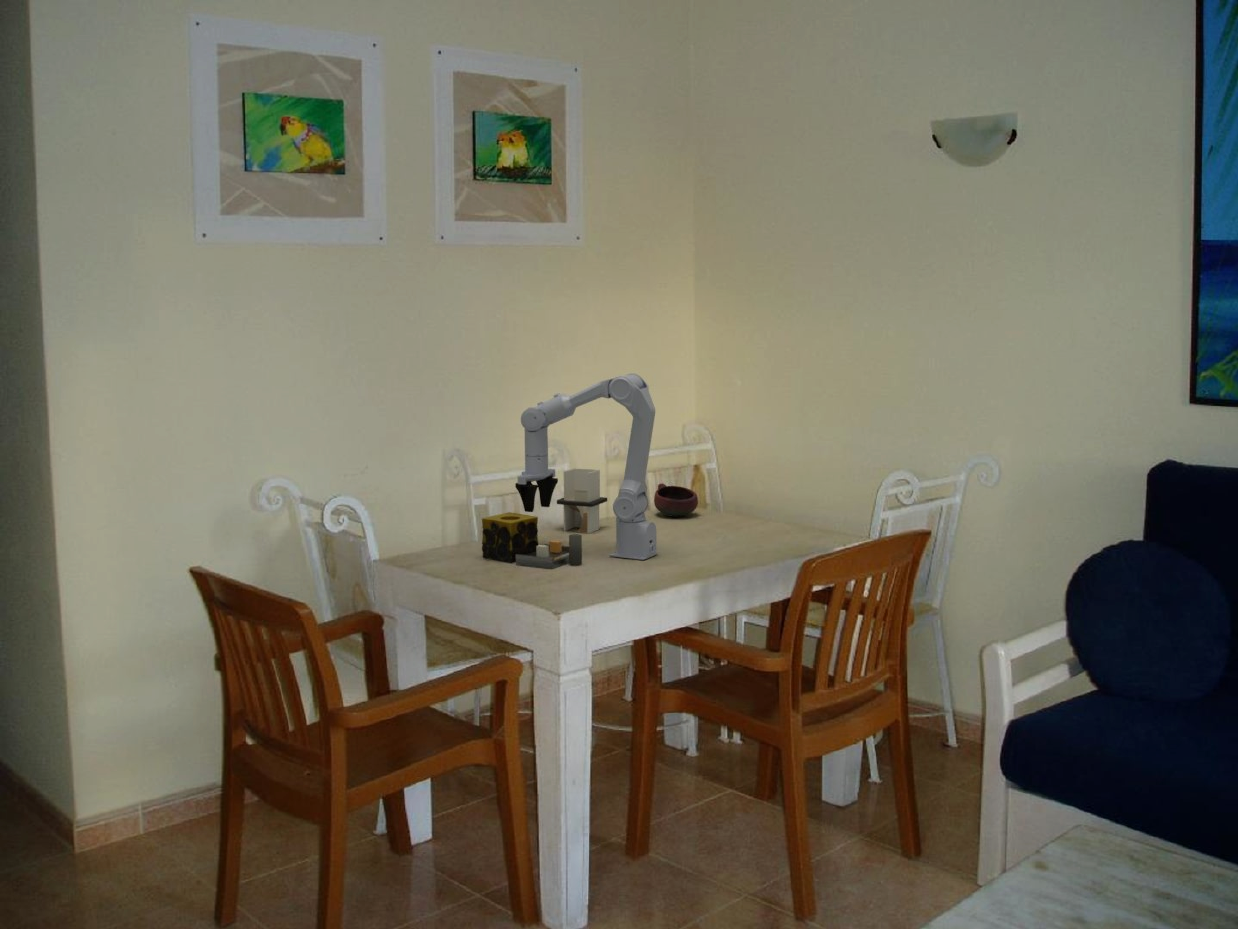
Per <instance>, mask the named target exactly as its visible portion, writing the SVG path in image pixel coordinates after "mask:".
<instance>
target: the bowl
mask: <svg viewBox="0 0 1238 929" xmlns="http://www.w3.org/2000/svg"><path fill="white" fill-rule="evenodd" d="M698 498H699V497H698V495H697V493H696V492H695V491H693V490H692V489H690V488H687V487H683V486H677V485H666V484H664V483H659V484H658V485H657V489H656V491H655V493H654V499H653V500H654V501H653V502H654V506H655V508H656V509H657V511H659V513H661V514H663V515H667V516H669V517H673V516H680V517H685V516H688V515H690V514H693V512H694V511H696V509H697V507H698V504H699V499H698ZM684 515H685V516H684Z"/></svg>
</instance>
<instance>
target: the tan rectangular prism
mask: <svg viewBox="0 0 1238 929" xmlns="http://www.w3.org/2000/svg"><path fill="white" fill-rule="evenodd" d="M549 544H550V552H556V553H559V552H562V546H563V545H562V541H561V540H550V541H549Z"/></svg>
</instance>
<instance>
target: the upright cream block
mask: <svg viewBox="0 0 1238 929" xmlns="http://www.w3.org/2000/svg"><path fill="white" fill-rule="evenodd" d="M536 553H537V556H540V557H548V556H549V546H546V545H545V544H538V546H536Z"/></svg>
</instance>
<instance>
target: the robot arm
mask: <svg viewBox="0 0 1238 929" xmlns="http://www.w3.org/2000/svg"><path fill="white" fill-rule="evenodd" d="M601 398H605V399H613V400H614V401H615V402H617V403H618V404H620V405H621V406H623V407H625V409H626V410H627V411H628V413H629V414H630V415H632V421H631V422H632V423H631V429H630V436H629V441H628V442H629V443H628V448H627V455H626V463H625V470H624V475H623V480H622V483H621V484H620V487H619V489H618V495H617V497H616V498H615V499H614V500H613V504H612V511H613V513H614V515H615V518H616V520H615V522H616V523H615V534H616V536H615V538H616V541H615V544H616V545H615V550H616V551H614V552H612V553H610V554H609V557H613V558H614V557H615V558H623V559H625V558H626V559H632V560H633V559H634V560H641V561H645V560H647V559H650V558H651V557H654V556H657V555H658V554H659V552H658V551H657V526H656V524H655V523H654V521H650V520H647V519H646V518H647V517H646V511H647V510H648V508H649V504H650V503H649V498H648V493H647V491H648V486H647V484H646V475H647V469H648V464H649V463H648V462H649V458H650V456H649V455H650V450H651V444H652V437H653V431H654V424H655V416H656V407H655V405H654V402H653V399H652V397H651V394H650V391H649V384H648V383H647V382H646V381H645V380H644V378H643V377H641V376H640V375H639V374H637V373H629V374H626V375H618V376H615V377H613V378H608V379H603V380H602V381H599V382H597V383H595V384H592V385H591V386H588V387H586V388H584V389H582V390H580V391H578V392H576V393H574V394H572V395H568V394H566V393H555V394H553V397H552V398H551V399H548V400H546V401H544V402H543V401H539V402H538V403H537V406H534V407H528V408H526V409H525V410H524V411H523V412H522V413H521V416H520V423H521V425H522V427H523V428H524V471H522V472H521V474H520V475H518V476H517V482H516V483H515V484H514V485H515V486H514V487H515V488H516V490H517V492H518V494H519V496H520V498H521V501H522V505H523V510H524V512H527V513H533V512H534V510H535V501H536V499H535V498H536V493H537V491H539V492H538V493H539V502H540V507H541V508H550V505H551V502H552V497H553V494H554V491H555V488H556V486H557V484H558V482H559V479H558V477H556V469H555V468H553V469H552V468H549V438H548V427H549V426H551V425H553V424H555V423H557V422H560V421H562V420H565V419H567V418H569V417H572V416H573V415H574V413H575V411H576V408H579V407H581V406H583V405H586V404H588V403H590V402H593V401H596V400H598V399H601ZM555 477H556V478H555ZM534 482H536V484H533V483H534Z"/></svg>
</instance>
